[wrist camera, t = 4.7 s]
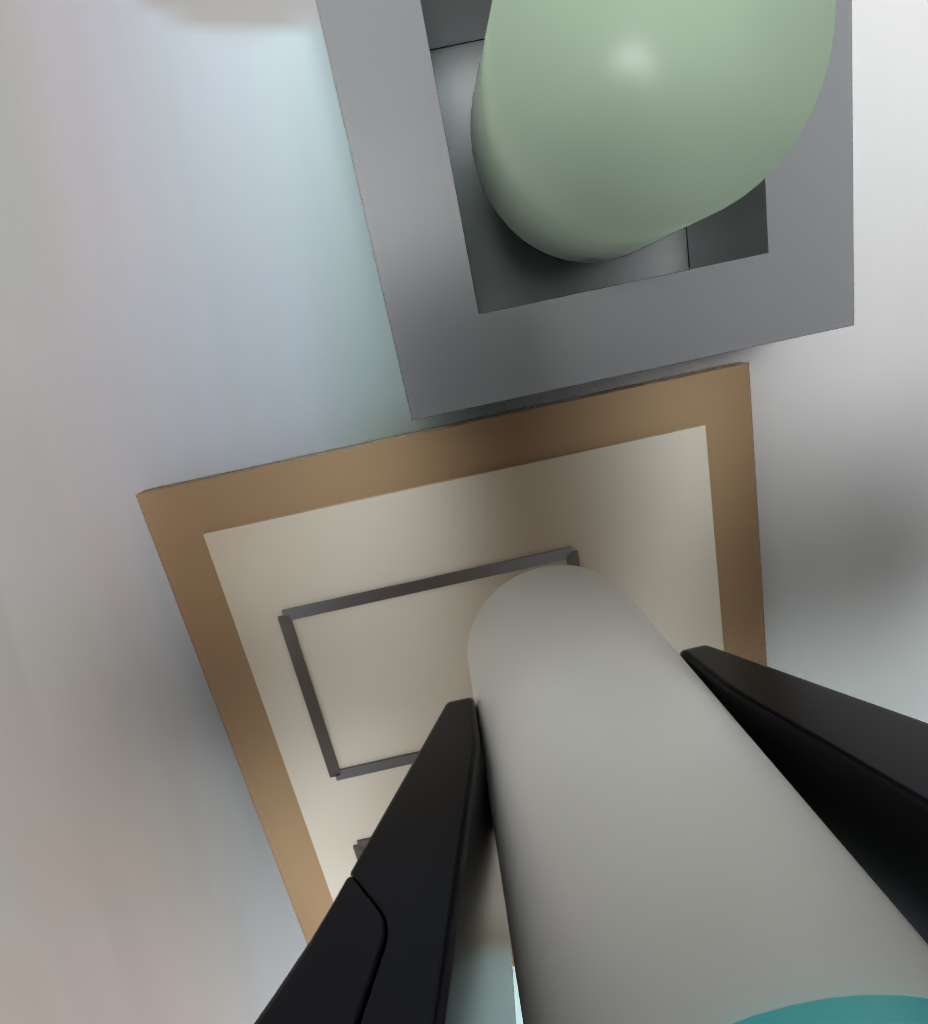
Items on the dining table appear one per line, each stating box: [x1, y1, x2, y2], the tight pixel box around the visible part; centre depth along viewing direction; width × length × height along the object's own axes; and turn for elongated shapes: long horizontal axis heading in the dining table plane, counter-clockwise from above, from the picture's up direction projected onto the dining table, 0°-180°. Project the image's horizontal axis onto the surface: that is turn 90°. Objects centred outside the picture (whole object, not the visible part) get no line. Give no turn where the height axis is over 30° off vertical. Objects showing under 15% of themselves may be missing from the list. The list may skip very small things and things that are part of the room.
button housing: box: [316, 0, 854, 420], centre depth 9 cm, size 7×7×2 cm
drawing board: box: [136, 362, 767, 966], centre depth 13 cm, size 12×14×1 cm
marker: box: [467, 565, 928, 1024], centre depth 6 cm, size 3×3×8 cm
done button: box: [471, 0, 836, 262], centre depth 7 cm, size 4×4×2 cm
